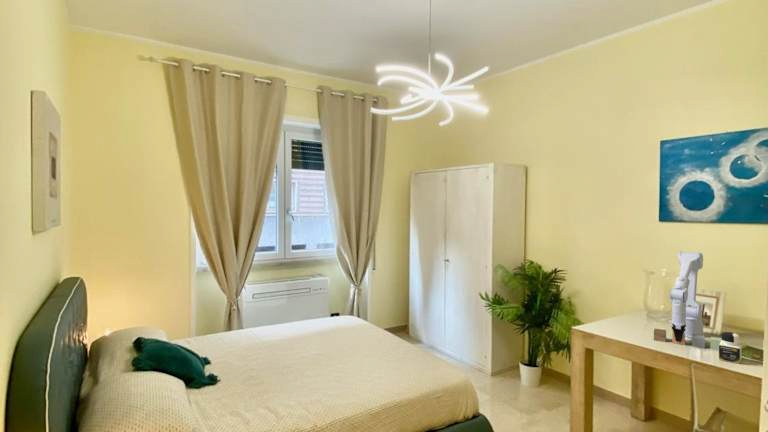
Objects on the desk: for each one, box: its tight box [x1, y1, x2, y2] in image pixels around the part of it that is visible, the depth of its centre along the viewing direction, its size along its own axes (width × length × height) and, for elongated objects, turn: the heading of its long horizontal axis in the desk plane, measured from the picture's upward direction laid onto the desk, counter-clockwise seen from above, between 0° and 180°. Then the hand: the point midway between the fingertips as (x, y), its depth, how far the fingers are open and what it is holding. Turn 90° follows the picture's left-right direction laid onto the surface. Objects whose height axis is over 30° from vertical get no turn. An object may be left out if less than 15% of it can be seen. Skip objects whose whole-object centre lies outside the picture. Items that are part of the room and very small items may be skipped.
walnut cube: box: [653, 328, 667, 343], centre depth 210 cm, size 5×5×5 cm
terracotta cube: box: [671, 331, 686, 346], centre depth 206 cm, size 5×5×5 cm
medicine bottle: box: [718, 331, 743, 365], centre depth 182 cm, size 7×7×12 cm
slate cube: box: [691, 334, 706, 349], centre depth 201 cm, size 5×5×5 cm
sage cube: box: [709, 336, 722, 352], centre depth 196 cm, size 5×5×5 cm
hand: (678, 339), depth 206 cm, fingers closed on terracotta cube, 5 cm apart
